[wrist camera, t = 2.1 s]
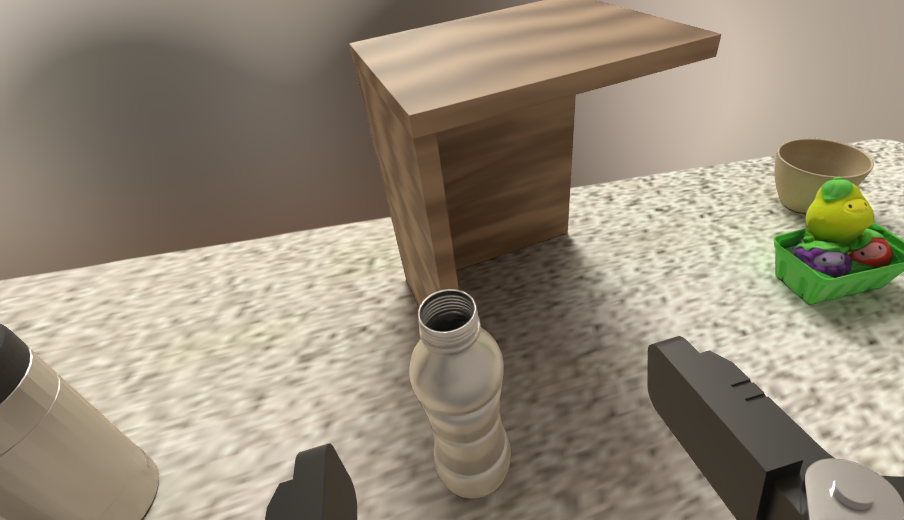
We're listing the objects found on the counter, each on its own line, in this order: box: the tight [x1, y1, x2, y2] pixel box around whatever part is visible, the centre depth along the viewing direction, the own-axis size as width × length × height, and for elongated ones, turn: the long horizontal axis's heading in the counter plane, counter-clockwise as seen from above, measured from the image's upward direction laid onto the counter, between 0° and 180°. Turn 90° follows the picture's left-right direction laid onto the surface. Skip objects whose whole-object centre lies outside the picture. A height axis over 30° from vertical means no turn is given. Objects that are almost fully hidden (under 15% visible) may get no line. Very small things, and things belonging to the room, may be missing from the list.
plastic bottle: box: [409, 289, 511, 499], centre depth 34 cm, size 6×7×20 cm
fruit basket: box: [774, 177, 904, 304], centre depth 49 cm, size 11×9×11 cm
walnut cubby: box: [349, 0, 721, 306], centre depth 46 cm, size 19×23×29 cm
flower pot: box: [775, 138, 874, 213], centre depth 61 cm, size 10×10×7 cm
